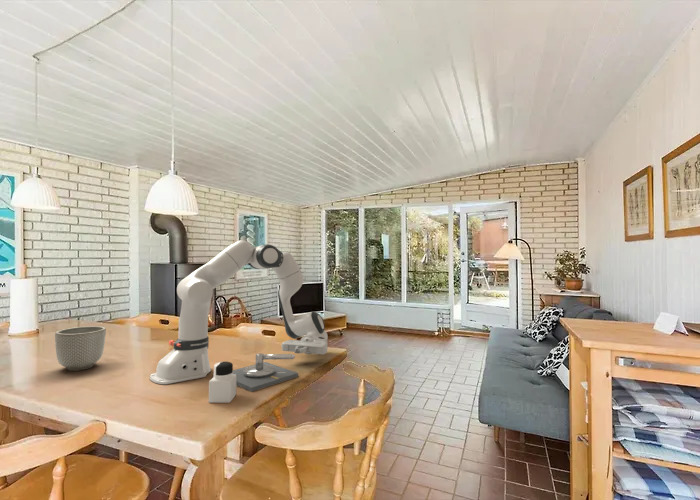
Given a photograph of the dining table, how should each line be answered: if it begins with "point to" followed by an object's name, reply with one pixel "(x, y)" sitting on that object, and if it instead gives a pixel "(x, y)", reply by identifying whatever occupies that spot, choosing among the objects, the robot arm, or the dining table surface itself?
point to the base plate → (263, 378)
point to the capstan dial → (261, 369)
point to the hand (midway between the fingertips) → (297, 351)
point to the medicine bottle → (222, 383)
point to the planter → (80, 346)
